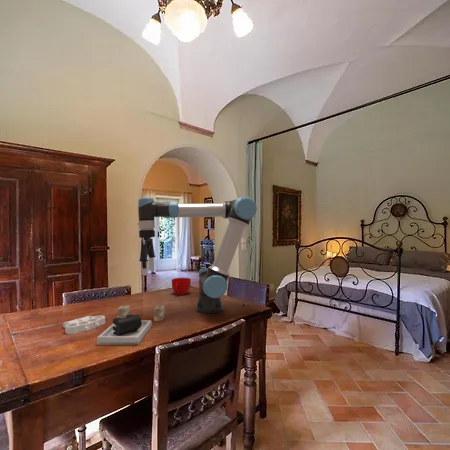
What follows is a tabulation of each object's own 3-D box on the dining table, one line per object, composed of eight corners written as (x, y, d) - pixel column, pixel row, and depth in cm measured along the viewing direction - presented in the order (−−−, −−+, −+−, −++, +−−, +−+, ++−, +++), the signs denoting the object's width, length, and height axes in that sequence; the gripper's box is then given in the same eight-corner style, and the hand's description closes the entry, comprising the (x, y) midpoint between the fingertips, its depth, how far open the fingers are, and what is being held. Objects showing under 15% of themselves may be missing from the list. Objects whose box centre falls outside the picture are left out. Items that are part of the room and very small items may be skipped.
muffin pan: (92, 319, 143) (111, 324, 135) (55, 330, 127) (73, 337, 120) (92, 312, 143) (111, 317, 135) (55, 323, 127) (73, 329, 120)
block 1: (129, 317, 145) (129, 305, 145) (125, 321, 139) (125, 309, 139) (121, 317, 145) (121, 305, 145) (117, 321, 139) (117, 308, 139)
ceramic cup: (166, 297, 186) (166, 282, 186) (175, 291, 202) (175, 277, 202) (185, 298, 183) (185, 282, 183) (192, 292, 200) (192, 278, 200)
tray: (151, 326, 131) (151, 320, 131) (138, 345, 111) (138, 337, 111) (117, 326, 131) (117, 320, 131) (97, 344, 111) (97, 337, 111)
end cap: (119, 338, 115) (120, 321, 115) (111, 333, 120) (111, 317, 120) (141, 331, 122) (141, 315, 122) (133, 327, 127) (133, 312, 127)
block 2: (164, 317, 145) (164, 305, 145) (162, 321, 139) (162, 309, 139) (156, 317, 145) (156, 305, 145) (153, 321, 139) (153, 309, 139)
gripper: (145, 229, 151) (146, 269, 151) (131, 230, 126) (133, 277, 126) (159, 228, 151) (160, 268, 151) (148, 229, 126) (150, 277, 127)
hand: (148, 272), depth 139 cm, fingers open, 13 cm apart
